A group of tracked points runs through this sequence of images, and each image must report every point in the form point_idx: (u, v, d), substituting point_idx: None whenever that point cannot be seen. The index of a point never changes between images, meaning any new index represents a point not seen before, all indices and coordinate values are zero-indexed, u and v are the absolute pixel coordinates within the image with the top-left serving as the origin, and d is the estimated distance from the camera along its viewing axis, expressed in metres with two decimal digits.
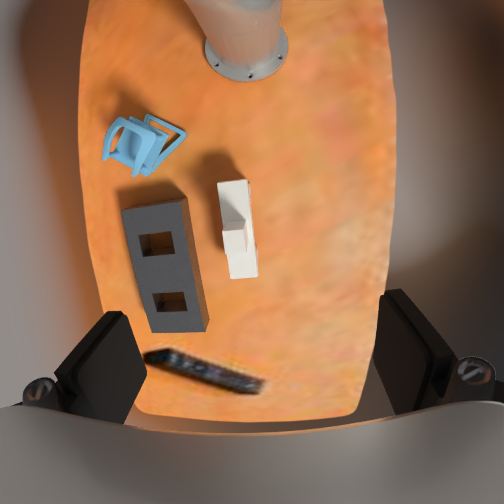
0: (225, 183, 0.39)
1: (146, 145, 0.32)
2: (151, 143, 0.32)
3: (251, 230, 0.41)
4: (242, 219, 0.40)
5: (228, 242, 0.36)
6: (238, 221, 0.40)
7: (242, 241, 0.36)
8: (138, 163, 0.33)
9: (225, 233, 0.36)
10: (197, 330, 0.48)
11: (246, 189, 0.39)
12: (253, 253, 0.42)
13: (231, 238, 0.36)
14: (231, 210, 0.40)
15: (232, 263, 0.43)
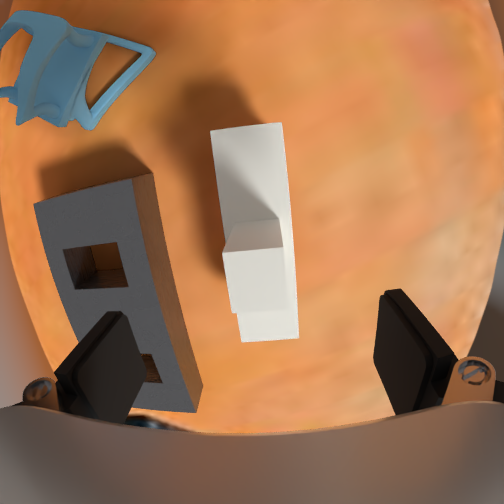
0: (230, 131, 0.15)
1: (41, 44, 0.09)
2: (53, 40, 0.09)
3: (290, 242, 0.18)
4: (270, 217, 0.17)
5: (239, 283, 0.13)
6: (261, 221, 0.17)
7: (280, 281, 0.13)
8: (24, 90, 0.10)
9: (231, 258, 0.13)
10: (182, 410, 0.25)
11: (281, 145, 0.16)
12: (292, 292, 0.19)
13: (248, 271, 0.13)
14: (244, 194, 0.17)
15: (246, 312, 0.19)
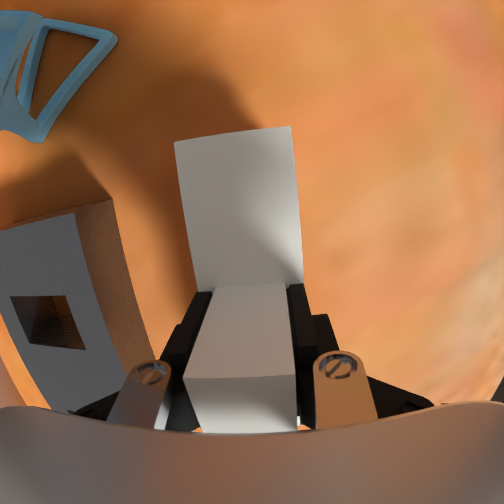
0: (205, 141, 0.09)
1: None
2: None
3: None
4: (271, 280, 0.11)
5: (216, 417, 0.07)
6: (256, 289, 0.11)
7: (287, 417, 0.07)
8: None
9: (200, 387, 0.06)
10: None
11: (289, 165, 0.10)
12: None
13: (231, 405, 0.07)
14: (229, 245, 0.11)
15: None
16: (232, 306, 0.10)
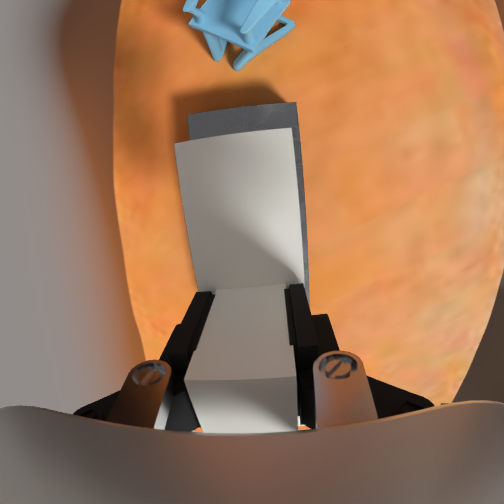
0: (206, 142, 0.09)
1: None
2: None
3: None
4: (271, 281, 0.11)
5: (217, 419, 0.07)
6: (257, 291, 0.11)
7: (288, 418, 0.07)
8: (258, 11, 0.16)
9: (201, 389, 0.06)
10: None
11: (290, 166, 0.10)
12: None
13: (232, 406, 0.07)
14: (230, 247, 0.11)
15: None
16: (233, 308, 0.10)
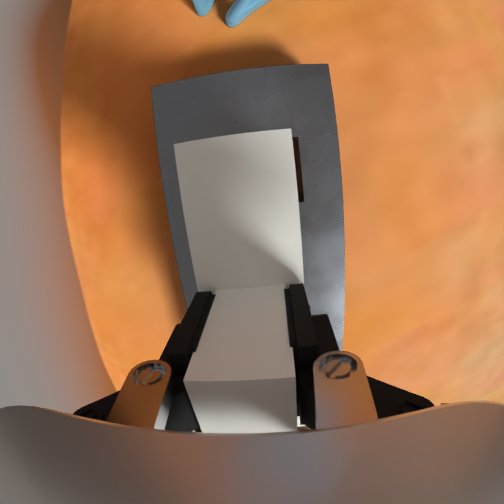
0: (205, 143, 0.09)
1: None
2: None
3: None
4: (271, 282, 0.11)
5: (217, 420, 0.07)
6: (257, 291, 0.11)
7: (287, 419, 0.07)
8: None
9: (201, 390, 0.06)
10: None
11: (290, 167, 0.10)
12: None
13: (232, 407, 0.07)
14: (229, 248, 0.11)
15: None
16: (232, 308, 0.10)
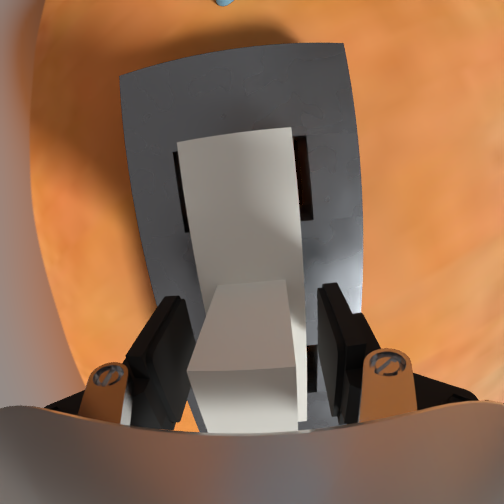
0: (208, 141, 0.10)
1: None
2: None
3: (301, 312, 0.12)
4: (272, 277, 0.11)
5: (219, 411, 0.07)
6: (258, 286, 0.11)
7: (288, 409, 0.07)
8: None
9: (203, 380, 0.07)
10: None
11: (290, 164, 0.10)
12: (301, 374, 0.13)
13: (234, 397, 0.07)
14: (231, 243, 0.11)
15: None
16: (234, 302, 0.10)
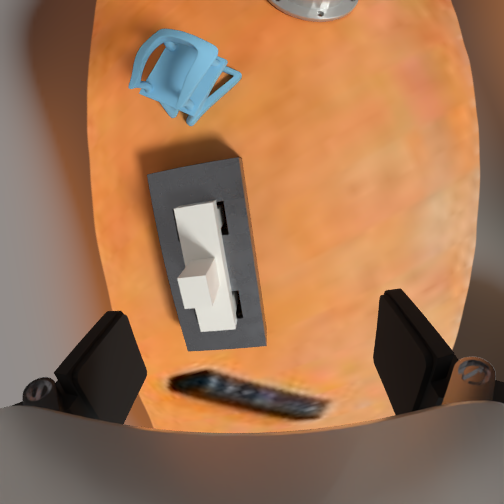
0: (184, 208, 0.29)
1: (204, 59, 0.20)
2: (211, 59, 0.20)
3: (223, 270, 0.30)
4: (210, 256, 0.30)
5: (186, 293, 0.26)
6: (204, 259, 0.29)
7: (206, 292, 0.25)
8: (189, 86, 0.21)
9: (181, 281, 0.25)
10: (255, 344, 0.35)
11: (213, 216, 0.29)
12: (227, 300, 0.31)
13: (190, 287, 0.25)
14: (194, 244, 0.30)
15: (201, 312, 0.32)
16: (194, 264, 0.28)
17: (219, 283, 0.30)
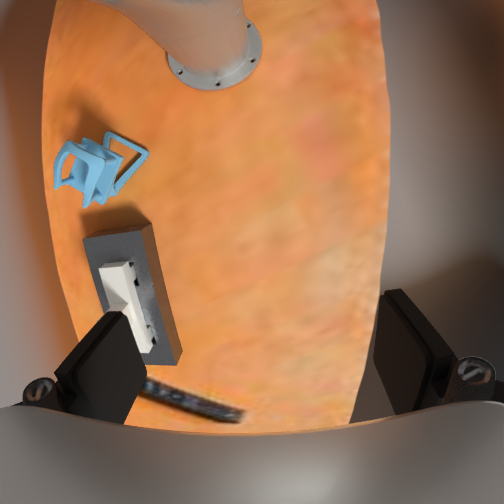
0: (105, 269, 0.37)
1: (94, 173, 0.27)
2: (99, 171, 0.28)
3: (134, 313, 0.38)
4: (124, 303, 0.38)
5: None
6: (120, 305, 0.38)
7: None
8: (87, 193, 0.28)
9: None
10: (168, 363, 0.43)
11: (123, 275, 0.37)
12: (140, 333, 0.39)
13: None
14: (114, 293, 0.38)
15: None
16: (113, 309, 0.37)
17: (132, 321, 0.39)
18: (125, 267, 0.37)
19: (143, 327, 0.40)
